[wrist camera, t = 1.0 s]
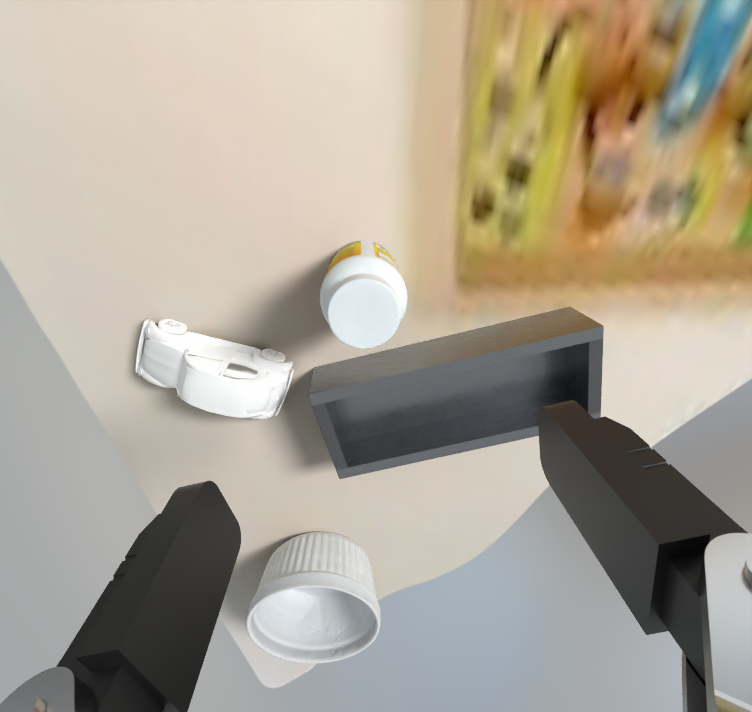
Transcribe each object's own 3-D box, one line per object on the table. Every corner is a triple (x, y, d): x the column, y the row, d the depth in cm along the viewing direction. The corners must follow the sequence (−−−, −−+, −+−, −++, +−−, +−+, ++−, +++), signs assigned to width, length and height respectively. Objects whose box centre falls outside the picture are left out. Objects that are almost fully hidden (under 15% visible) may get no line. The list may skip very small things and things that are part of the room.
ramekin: (274, 602, 45) (260, 670, 39) (249, 527, 39) (229, 593, 33) (381, 592, 45) (385, 658, 39) (372, 516, 40) (375, 578, 33)
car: (300, 356, 31) (291, 383, 27) (279, 413, 34) (268, 445, 30) (154, 305, 29) (119, 326, 25) (142, 370, 31) (109, 400, 27)
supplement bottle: (402, 244, 28) (423, 272, 19) (391, 312, 30) (406, 365, 21) (330, 234, 27) (318, 259, 18) (325, 304, 29) (311, 355, 21)
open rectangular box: (314, 367, 32) (308, 394, 27) (570, 306, 30) (603, 326, 26) (341, 444, 35) (339, 479, 31) (571, 393, 34) (600, 422, 30)
